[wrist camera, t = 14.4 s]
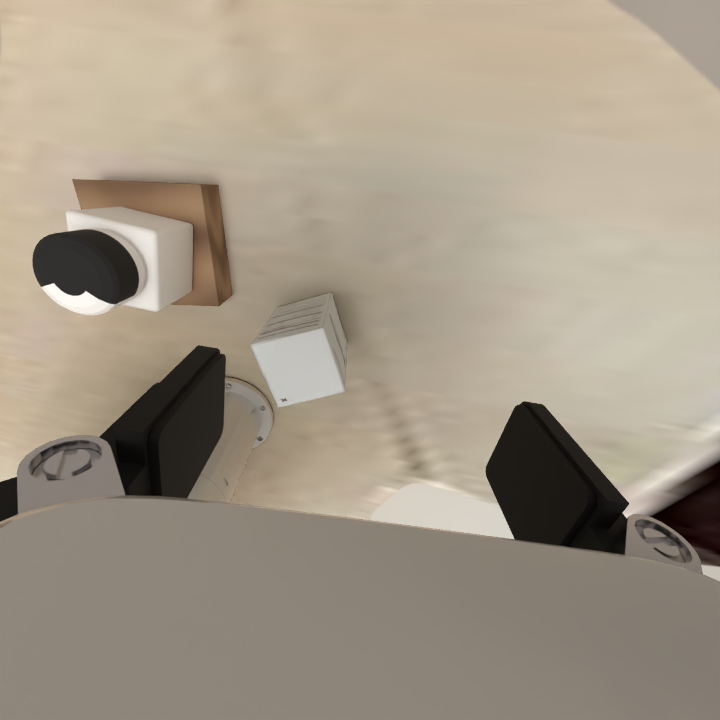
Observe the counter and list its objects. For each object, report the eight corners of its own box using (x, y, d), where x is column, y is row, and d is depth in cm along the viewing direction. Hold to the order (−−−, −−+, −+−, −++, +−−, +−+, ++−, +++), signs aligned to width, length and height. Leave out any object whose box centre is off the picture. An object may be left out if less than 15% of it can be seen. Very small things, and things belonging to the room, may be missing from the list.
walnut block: (233, 293, 42) (218, 306, 38) (135, 290, 42) (109, 302, 38) (219, 185, 37) (200, 184, 33) (106, 180, 37) (72, 179, 32)
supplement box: (349, 343, 45) (346, 394, 34) (295, 356, 46) (275, 410, 35) (333, 289, 42) (324, 326, 31) (276, 304, 43) (247, 346, 31)
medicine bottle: (119, 205, 33) (4, 213, 23) (194, 223, 34) (116, 239, 23) (125, 276, 37) (25, 314, 26) (193, 292, 37) (124, 334, 26)
